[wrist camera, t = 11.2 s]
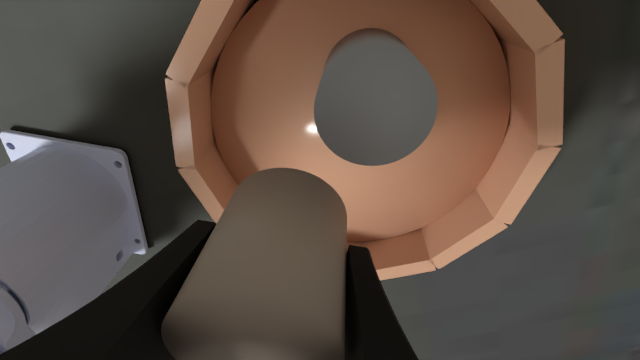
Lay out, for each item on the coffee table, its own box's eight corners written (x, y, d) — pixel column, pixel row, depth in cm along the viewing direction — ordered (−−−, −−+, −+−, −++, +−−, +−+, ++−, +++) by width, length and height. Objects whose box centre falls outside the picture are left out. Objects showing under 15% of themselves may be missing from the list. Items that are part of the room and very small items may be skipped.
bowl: (446, 259, 23) (460, 300, 20) (208, 219, 23) (187, 254, 20) (605, -28, 13) (679, -30, 10) (186, -105, 13) (138, -130, 10)
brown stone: (343, 263, 13) (339, 403, 8) (238, 254, 13) (183, 386, 9) (351, 171, 10) (352, 304, 6) (222, 163, 10) (136, 285, 6)
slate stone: (403, 122, 16) (421, 170, 12) (321, 115, 17) (311, 160, 12) (423, 31, 14) (454, 53, 10) (326, 24, 14) (316, 43, 10)
